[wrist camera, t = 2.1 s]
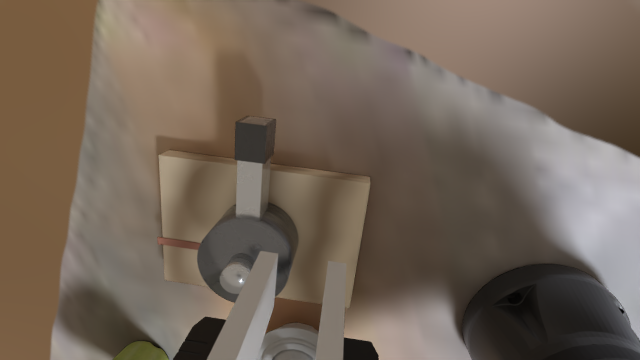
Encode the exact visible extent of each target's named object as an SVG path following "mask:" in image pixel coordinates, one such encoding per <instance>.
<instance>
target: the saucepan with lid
mask: <svg viewBox="0 0 640 360" xmlns="http://www.w3.org/2000/svg"><path fill="white" fill-rule="evenodd" d="M275 128H276V119H270V118H262V117H254V116H247V117H245V118H243V119H241V120H239V121H237V122H236V129H235V160H238V161H237V194H236V204H235V205H234V206H232V207H231V208H230V209H228V210H227V211H226V213H225V214H224V215H223V216H222V217H221V219H220V220H219V221H218V222H217V223H216V224H215V226H214V227H213V228H212V229H211V230H210V231H209V233H208V234H207V235H206V236H205V237H204V239H203V240H202V242H201V243H200V246H199V249H198V253H197V264H198V268H199V271H200V274H201V276H202V278H203V280H204V281H205V283H206V284H207V285H208V286H209V287H210V289H212V290H213V291H214V292H215V293H216V294H218V295H219V296H221V297H222V298H224V299H226V300H229V301H231V302H234V303H235V302H236V300H237V298H238V296H239V294H240V291H241V289H242V287H243V285H244V283H245V281H246V279H247V277H248V275H249V273H250V271H251V269H252V267H253V265H254V263H255V261H256V259H257V257H258V255H259V253H260V251H264V252H271V253H278V262H277V275H276V287H275V297H276V296H277V295H278V294H279V293H280V292H281V291H282V290H283V288H284V287H285V285H286V283H287V281H288V278H289V274H290V271H291V268H292V264H293V261H294V258H295V254H296V251H297V248H298V232H297V228H296V226H295V224H294V222H293V220H292V219H291V218H290V216H289V215H288V214H287V213H286V212H285V211H284V210H283V209H281V208H280V207H278V206H277V205H275V204H272V203H270V202H268V196H269V180H270V165H271V156H272V155H273V154H274V143H275Z"/></svg>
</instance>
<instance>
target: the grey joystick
mask: <svg viewBox="0 0 640 360" xmlns="http://www.w3.org/2000/svg"><path fill="white" fill-rule="evenodd" d="M318 334H319V331H317V330H316V329H314V328H313V327H312V326H310V325H306V324H302V323H298V322H297V323H290V324H285V325H283V326H281V327H280V328H278V329H275V330H272V331H269V332H268V333H266V334H265V335H264V338H263V342H262V345H261V348H260V351H259V354H258V357H257V360H315V357H316V350H317V342H318Z"/></svg>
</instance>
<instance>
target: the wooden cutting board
mask: <svg viewBox="0 0 640 360" xmlns="http://www.w3.org/2000/svg"><path fill="white" fill-rule="evenodd" d="M237 161H238V160H235V159H233V158H226V157H218V156H211V155H203V154H196V153H188V152H181V151H173V150H168V151H166V152H164V153H162V154H160V155H159V172H160V193H161V214H162V235H163V238H162V237H157V239H158V244H160V245H163V255H164V276H165V280H167V281H173V282H180V283H186V284H193V285H200V286H206V287H209V286H208V285H207V284H206V283H205V281H204V280H203V278H202V276H201V274H200V271H199V268H198V264H197V253H198V249H199V246H200V243H201V242H202V240H203V239H204V237H205V236H206V235H207V234H208V233H209V231H210V230H211V229H212V228H213V227H214V226H215V224H216V223H217V222H218V221H219V220H220V219H221V217H222V216H223V215H224V214H225V213H226V211H227V210H228V209H230V208H231V207H232V206H234V205H235V204H236V194H237ZM370 184H371V183H370V177H368V176H361V175H353V174H346V173H338V172H331V171H323V170H316V169H308V168H301V167H293V166H286V165H278V164H271V165H270V180H269V196H268V202H270V203H272V204H275V205H277V206H278V207H280V208H281V209H283V210H284V211H285V212H286V213H287V214H288V215H289V216H290V218H291V219H292V220H293V222H294V224H295V226H296V228H297V232H298V248H297V251H296V254H295V258H294V261H293V264H292V268H291V271H290V274H289V278H288V281H287V283H286V285H285V287H284V288H283V290H282V291H281V292H280V293H279V294H278V295H277V296H276V297H278V298H284V299H291V300H297V301H304V302H310V303H317V304H323V296H324V289H325V282H326V274H327V267H328V261H333V262H339V263H346V288H345V308H350V302H351V296H352V290H353V285H354V279H355V273H356V267H357V261H358V255H359V249H360V243H361V237H362V231H363V226H364V220H365V214H366V208H367V202H368V196H369V190H370Z"/></svg>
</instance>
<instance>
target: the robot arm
mask: <svg viewBox="0 0 640 360" xmlns="http://www.w3.org/2000/svg"><path fill="white" fill-rule="evenodd" d="M277 262H278V253H271V252H264V251H260V253H259V255H258V257H257V259H256V261H255V263H254V265H253V267H252V269H251V271H250V273H249V275H248V277H247V279H246V281H245V283H244V285H243V287H242V289H241V291H240V294H239V296H238V298H237V300H236V302H235V304H234V306H233V308H232V310H231V312H230V314H229V316H228V318H227V320H224V319H217V318H211V317H204V318H203V319H202V320H201V321H199V322H198V323H197V324H196V325H194V326H193V327H192V329H191V331H190V332H189V334H188V336H187V337H186V339H185V342H183V344H182V345H181V347H180V349H179V352H177V354H176V355H175V357H174V359H173V360H257V357H258V354H259V351H260V348H261V345H262V342H263V338H264V335H265V332H266V329H267V326H268V323H269V320H270V317H271V314H272V311H273V308H274V300H275V287H276V275H277ZM345 288H346V263H339V262H333V261H328V267H327V274H326V282H325V289H324V296H323V304H322V311H321V319H320V326H319V334H318V342H317V350H316V357H315V360H379V358H378V354H377V352H376V350H375V348H374V346H373V345H372V343H371V342H369V341H363V340H356V339H350V338H344V317H345ZM462 330H463V338H464V341H465V344H466V347H467V349H468V352H469V354H470V357H471V359H472V360H640V340H639V338H638V337H637V335H636V334H635V333H634V331H633V330H632V328H631V325H630V321H629V318H628V316H627V314H626V312H625V310H624V308H623V307H622V305H621V304H620V302H619V301H618V300H617V299H616V297H615V296H614V295H613V294H612V293H610V292H609V291H608V290H607V289H606V288H605V287H604V286H603V285H602V284H600V283H599V282H598V281H597V280H596V279H594V278H593V277H592V276H590V275H588V274H586V273H584V272H582V271H580V270H578V269H575V268H571V267H567V266H562V265H554V264H540V265H531V266H526V267H522V268H518V269H515V270H512V271H509V272H507V273H505V274H502V275H500V276H499V277H497V278H495V279H494V280H492V281H491V282H489V283H488V284H486V285H485V286H484V287H483V288H482V289H481V290H480V291H479V292H478V293H477V294H476V295H475V296H474V298H473V299H472V301H471V302H470V304H469V305H468V307H467V310H466V312H465V315H464V319H463V327H462Z"/></svg>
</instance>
